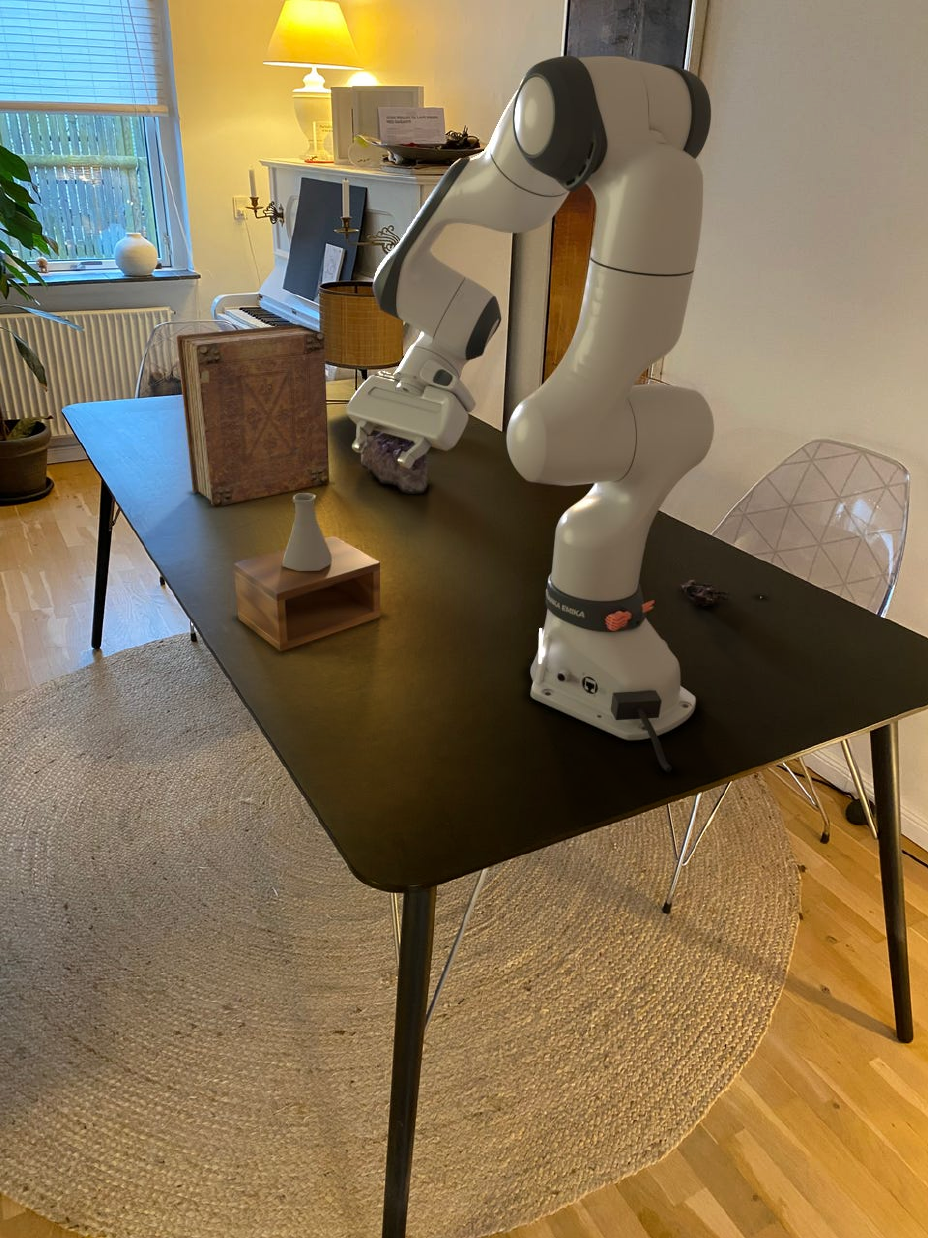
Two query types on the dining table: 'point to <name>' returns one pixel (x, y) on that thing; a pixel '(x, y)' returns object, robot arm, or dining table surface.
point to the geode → (394, 463)
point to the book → (255, 411)
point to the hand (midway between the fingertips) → (379, 458)
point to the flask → (306, 538)
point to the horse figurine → (703, 592)
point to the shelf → (307, 595)
